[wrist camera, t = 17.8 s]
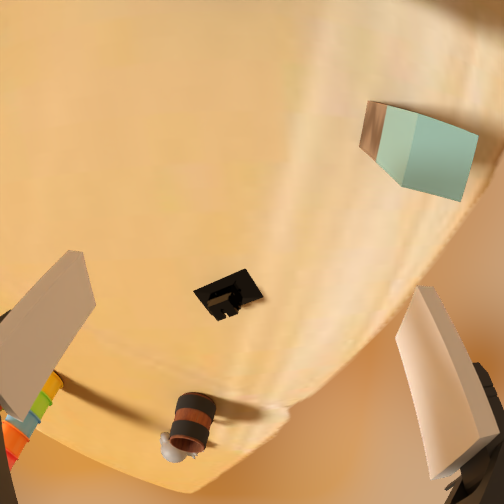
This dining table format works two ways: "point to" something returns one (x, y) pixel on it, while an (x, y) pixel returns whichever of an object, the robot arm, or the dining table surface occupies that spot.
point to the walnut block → (372, 128)
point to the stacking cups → (28, 420)
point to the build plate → (228, 294)
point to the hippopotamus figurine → (172, 450)
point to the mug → (192, 422)
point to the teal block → (426, 153)
